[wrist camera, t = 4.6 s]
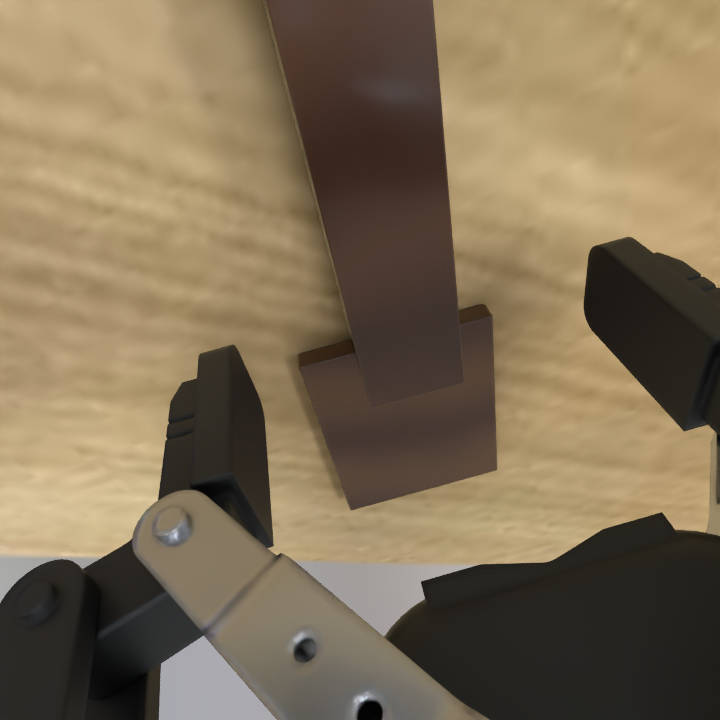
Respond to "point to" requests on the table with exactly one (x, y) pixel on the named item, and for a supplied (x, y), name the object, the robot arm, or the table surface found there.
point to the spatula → (386, 250)
